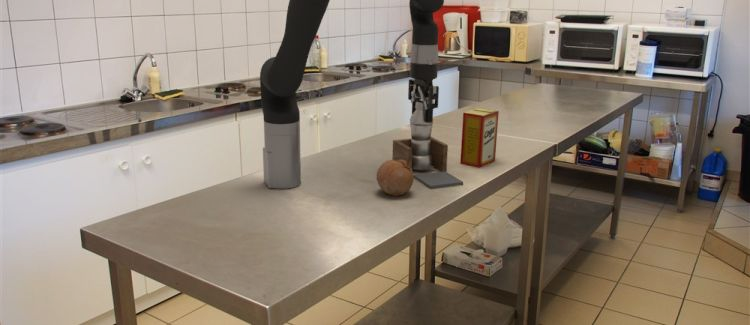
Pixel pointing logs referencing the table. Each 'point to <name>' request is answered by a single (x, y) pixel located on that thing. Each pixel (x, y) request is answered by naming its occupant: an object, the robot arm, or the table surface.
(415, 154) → the plastic bottle
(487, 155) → the baking soda box
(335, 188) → the table surface
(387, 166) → the onion
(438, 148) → the walnut rack
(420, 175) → the rubber mat
